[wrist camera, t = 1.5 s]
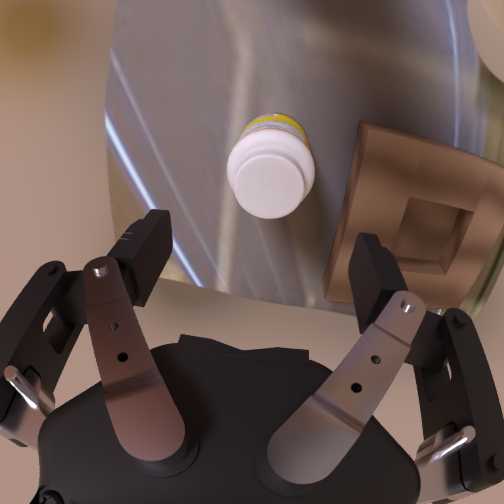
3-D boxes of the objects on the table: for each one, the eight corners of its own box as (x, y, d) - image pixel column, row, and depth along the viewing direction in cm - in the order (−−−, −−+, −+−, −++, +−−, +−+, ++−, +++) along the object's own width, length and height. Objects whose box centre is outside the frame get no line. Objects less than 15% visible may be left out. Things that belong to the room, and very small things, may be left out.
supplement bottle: (286, 181, 26) (285, 246, 18) (231, 153, 25) (203, 205, 17) (319, 131, 23) (338, 174, 15) (261, 99, 22) (246, 121, 14)
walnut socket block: (359, 121, 22) (368, 128, 20) (505, 167, 21) (521, 178, 19) (322, 281, 33) (324, 300, 30) (449, 293, 32) (457, 309, 30)
